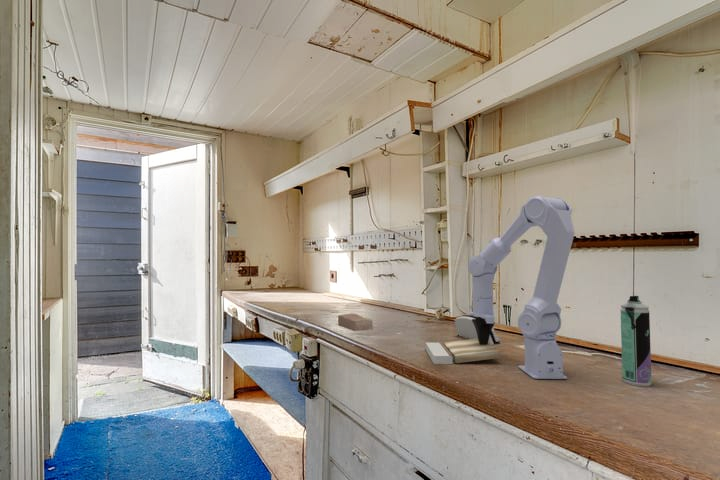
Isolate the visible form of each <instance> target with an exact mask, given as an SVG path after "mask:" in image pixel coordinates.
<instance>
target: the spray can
mask: <svg viewBox="0 0 720 480" xmlns="http://www.w3.org/2000/svg"><path fill="white" fill-rule="evenodd" d="M650 322H651V321H650V310H649V306H647V305H645V304H644V303H643V301H641V300H640V298H639V295H630V296H629V298H628V300H627V301H626V302H624V304H621V305H620V332H621V333H620V335H621V337H620V338H621V339H620V340H621V341H620V342H621V366H622V368H621V369H622V371H621V372H622V373H621V375H622V382H624V383H626V384H628V385H630V386H631V385H632V386H637V387H650V386H652V383H653V382H652V381H653V380H652V358H651V357H652V355H651V325H650Z"/></svg>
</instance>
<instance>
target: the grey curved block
mask: <svg viewBox="0 0 720 480" xmlns="http://www.w3.org/2000/svg"><path fill="white" fill-rule="evenodd" d="M477 318H478V317H477V316H473V315H469V313H466V314H462V315H459V316H458V317H456V318H455V319H454V324H455V328H456V334H457V336H458V335H459V336H458V337H460V336H462V337H461V338H464V337H466V338H465V339H467V338H469V339H476V338H478V337H477V332H476V329H475V326H474V324H473V322H472V319H477ZM496 342H498V343H497V344H500V343H501V344H502V341H501V338H500V337H498V336H497V333H496V330H495V328H494V327H493V328H492V330H491V332H490V336H489V341H488V343H490V344H491V345H492V346H494V345H495V343H496Z"/></svg>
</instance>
